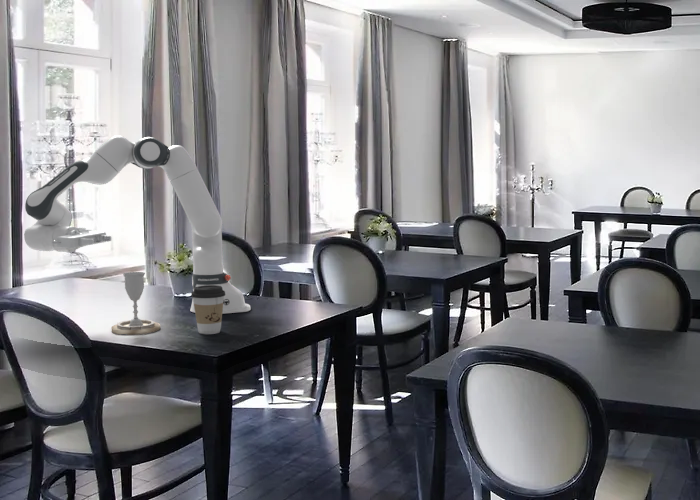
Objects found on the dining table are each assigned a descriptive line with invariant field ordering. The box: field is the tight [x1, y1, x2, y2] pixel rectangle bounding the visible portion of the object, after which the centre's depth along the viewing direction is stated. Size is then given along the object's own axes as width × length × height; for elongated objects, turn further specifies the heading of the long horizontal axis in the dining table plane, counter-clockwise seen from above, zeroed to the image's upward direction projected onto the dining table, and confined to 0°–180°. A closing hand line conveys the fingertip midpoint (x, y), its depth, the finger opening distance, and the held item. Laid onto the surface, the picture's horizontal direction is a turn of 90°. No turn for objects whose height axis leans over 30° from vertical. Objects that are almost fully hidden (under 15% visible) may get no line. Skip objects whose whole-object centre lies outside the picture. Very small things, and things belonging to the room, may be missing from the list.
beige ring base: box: [111, 319, 161, 336], centre depth 287 cm, size 16×16×2 cm
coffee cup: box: [190, 285, 225, 335], centre depth 282 cm, size 11×11×15 cm
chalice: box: [122, 271, 146, 326], centre depth 286 cm, size 7×7×18 cm
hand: (102, 240), depth 289 cm, fingers open, 8 cm apart
